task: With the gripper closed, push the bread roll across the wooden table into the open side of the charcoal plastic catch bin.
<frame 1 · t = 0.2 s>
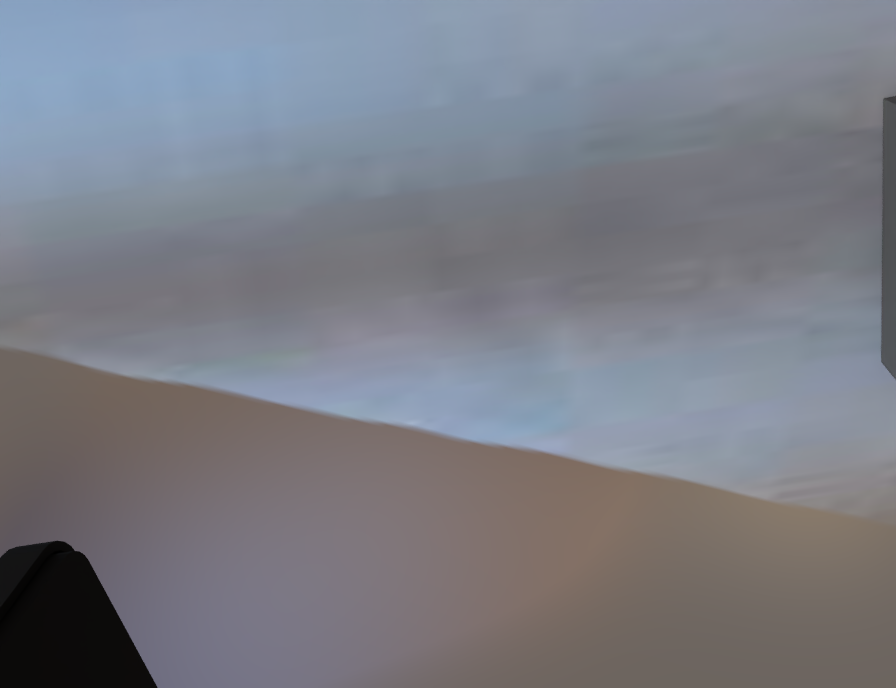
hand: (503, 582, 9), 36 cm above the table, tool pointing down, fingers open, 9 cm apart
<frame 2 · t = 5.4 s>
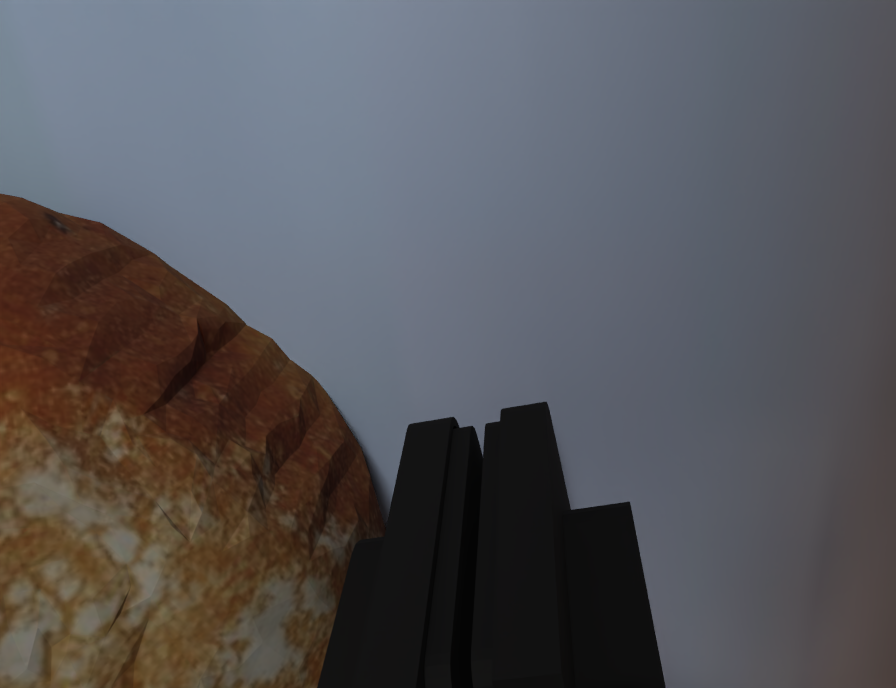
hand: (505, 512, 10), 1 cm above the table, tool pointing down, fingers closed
bread roll: (48, 478, 13), on the table, touching gripper
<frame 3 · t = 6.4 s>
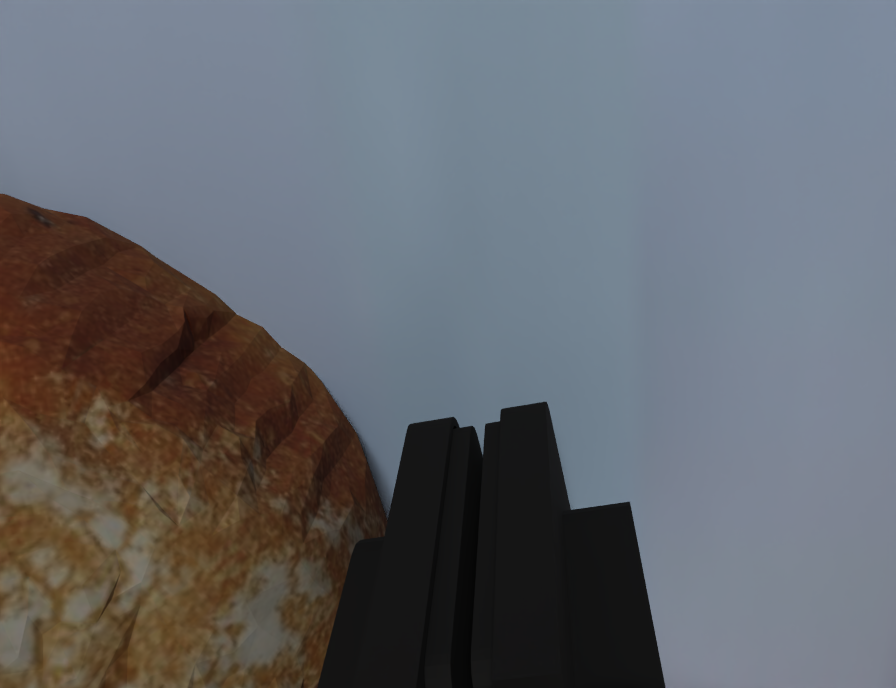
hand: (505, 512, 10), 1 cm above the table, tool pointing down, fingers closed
bread roll: (50, 478, 13), on the table
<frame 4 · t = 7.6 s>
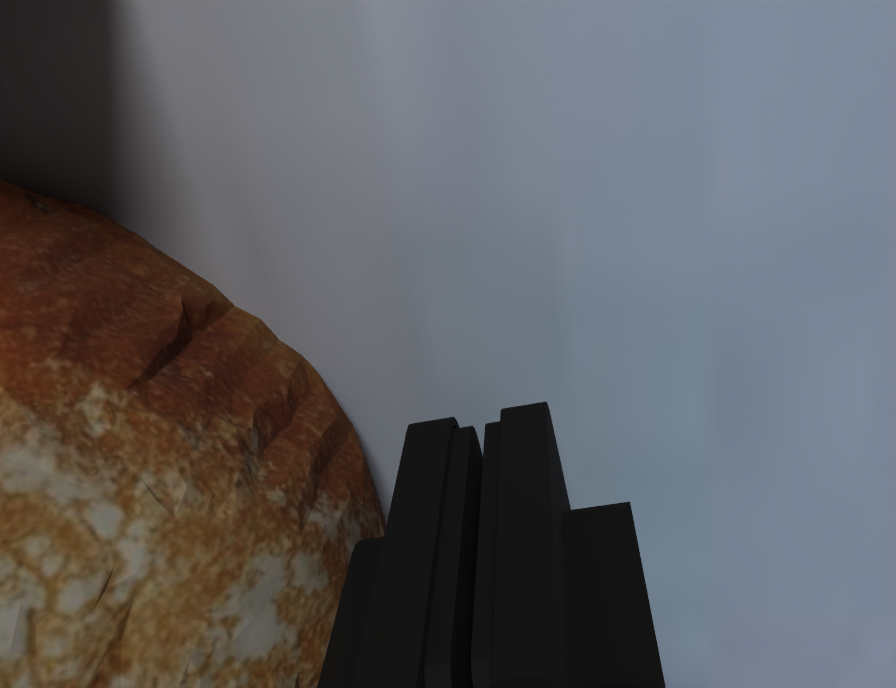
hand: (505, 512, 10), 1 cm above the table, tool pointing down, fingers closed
bread roll: (43, 469, 13), on the table, touching gripper
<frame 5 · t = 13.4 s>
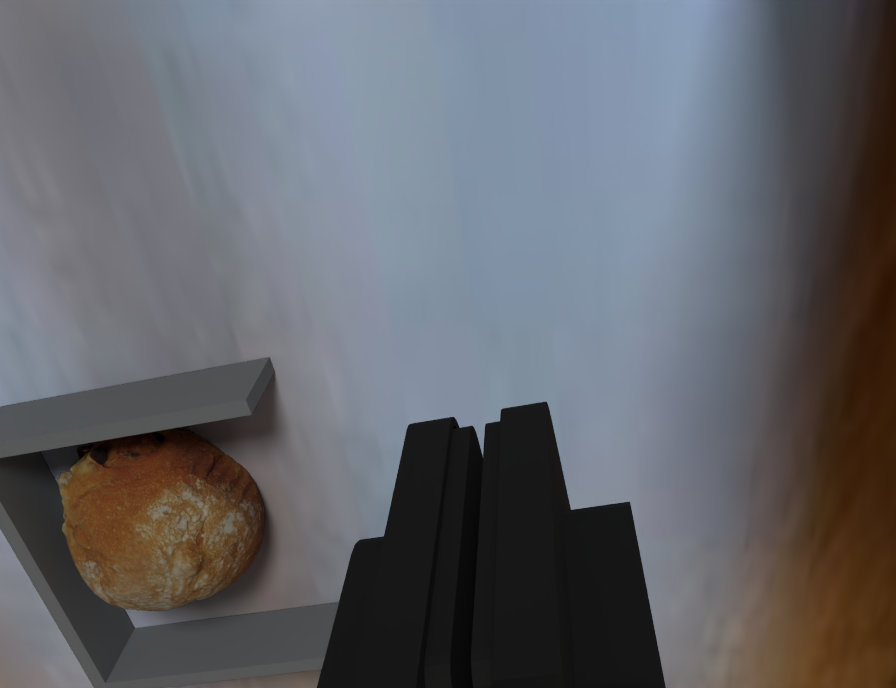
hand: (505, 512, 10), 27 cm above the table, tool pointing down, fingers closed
catch bin: (197, 512, 46), on the table
bread roll: (172, 492, 46), on the table
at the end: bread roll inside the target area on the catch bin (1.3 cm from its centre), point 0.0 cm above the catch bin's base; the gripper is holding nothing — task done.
